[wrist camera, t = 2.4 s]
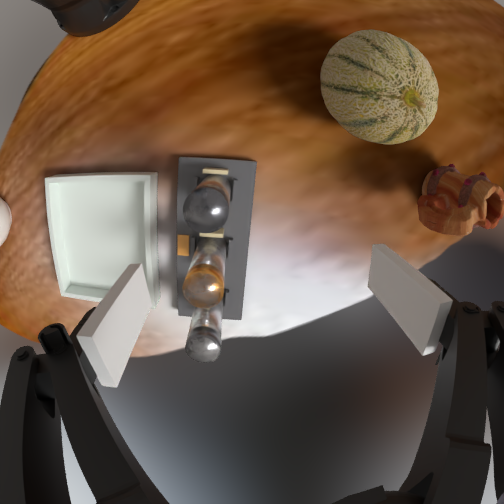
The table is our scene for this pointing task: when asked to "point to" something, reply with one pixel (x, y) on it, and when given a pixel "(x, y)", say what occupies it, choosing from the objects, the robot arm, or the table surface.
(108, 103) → the table surface
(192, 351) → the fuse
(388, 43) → the cantaloupe
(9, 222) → the lidded jar
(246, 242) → the fuse holder
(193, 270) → the marked fuse
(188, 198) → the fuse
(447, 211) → the mug
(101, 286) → the tray
